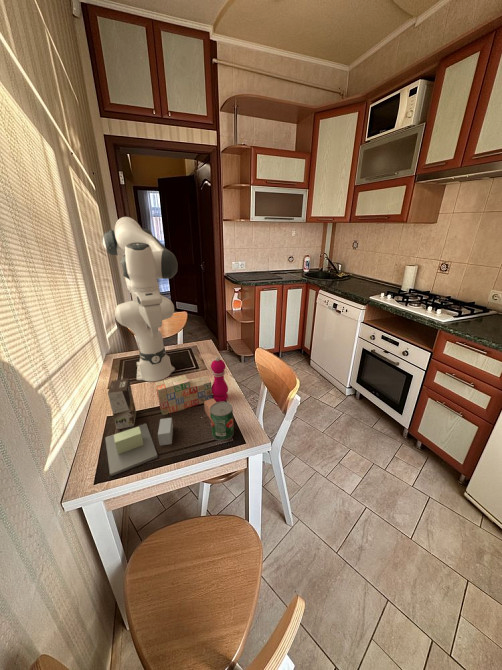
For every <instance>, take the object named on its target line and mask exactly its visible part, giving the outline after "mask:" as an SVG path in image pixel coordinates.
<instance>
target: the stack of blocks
mask: <svg viewBox="0 0 502 670" xmlns="http://www.w3.org/2000/svg"><path fill="white" fill-rule="evenodd" d="M155 387H156V388H155V389H156V395H157V398H158V399H157V400H158V405H159V408H160V412H161V415H162V416H166V415H168V413H169V414H172V413H175V412H179V411H183V410H186V409H188V408H191V407H195V406H198V405H202V404H204V401H207V400H210V399H212V398H213V394H212V382H211V380H210V379H209V377H208V376H207V375H205V376H204V375H203V376H201V377H200V376H199V377H195V378H192V379H188V378H187V375H186V374H183V375H180V376H175V377H173V378H172V377H171V378H169V379H165V380H164V379H163V380H158V381H155Z"/></svg>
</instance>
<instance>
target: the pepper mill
mask: <svg viewBox="0 0 502 670" xmlns="http://www.w3.org/2000/svg"><path fill="white" fill-rule="evenodd" d="M210 369H211V371H212V376H213V383H212V384H211V387H212V398H213V399H214V400H215V401H216V402H222V401H223V402H227V400H228V397H229V396H228V392H229V387H228V384H227V382H226V381H225V377H224V376H225V374H226V371H225V369H226V363H225V362H224V360H222V359H221V358H220V357H219V356H216V357H215V360H213V361H212V362H211V363H210Z"/></svg>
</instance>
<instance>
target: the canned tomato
mask: <svg viewBox="0 0 502 670" xmlns="http://www.w3.org/2000/svg"><path fill="white" fill-rule="evenodd" d="M233 407H234V406H233V404H231V403H230V402H227V401H224V402H223V401H222V402H217V403H214V404H213V405H212V406H211V407H210V415H211V419H210V425H211V426H210V427H211V435H212V437H213V439H214V440H215V441H220V442H223V441H224V442H225V441H228V440H230V439H231V438H232V437H233V436H234V433H235V431H234V428H235V427H234V409H233Z"/></svg>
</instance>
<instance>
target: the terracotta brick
mask: <svg viewBox="0 0 502 670" xmlns="http://www.w3.org/2000/svg"><path fill="white" fill-rule="evenodd" d="M214 403H217V402H216V401H215V400H214V399H213V397H212V399H210V400H207V401H204V403H203V405H204V413H205V414H206V415H207V417H208V418H209V419H210V420H211V415H210V407H211V406H212V405H213V404H214Z"/></svg>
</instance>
